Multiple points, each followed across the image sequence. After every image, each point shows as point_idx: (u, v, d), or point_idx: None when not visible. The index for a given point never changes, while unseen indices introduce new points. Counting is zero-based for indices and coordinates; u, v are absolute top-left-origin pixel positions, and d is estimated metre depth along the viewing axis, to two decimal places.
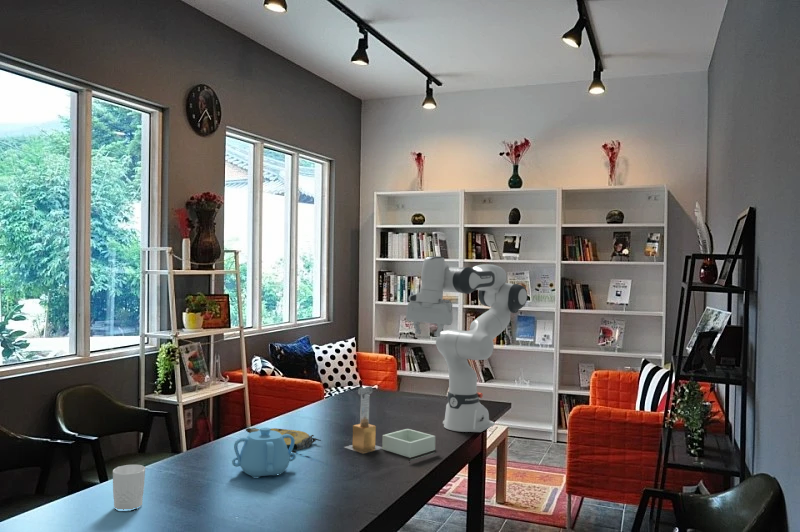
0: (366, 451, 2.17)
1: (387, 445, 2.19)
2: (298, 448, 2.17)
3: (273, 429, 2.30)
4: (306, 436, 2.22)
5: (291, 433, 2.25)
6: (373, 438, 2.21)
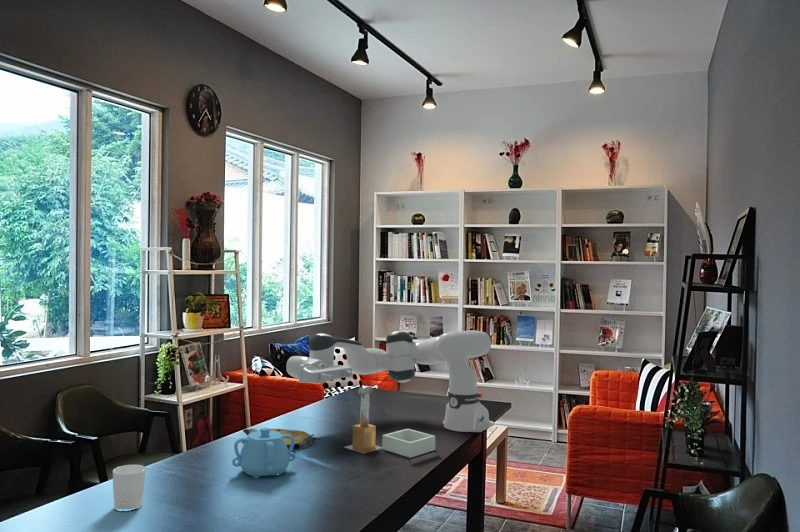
0: (366, 451, 2.17)
1: (387, 445, 2.19)
2: (300, 447, 2.18)
3: (272, 429, 2.30)
4: (307, 436, 2.23)
5: (291, 433, 2.26)
6: (373, 438, 2.21)
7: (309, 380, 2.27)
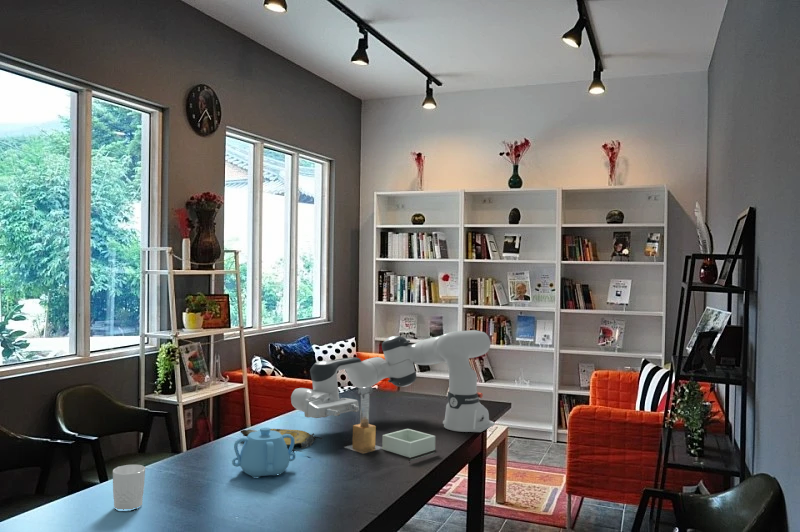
0: (366, 451, 2.17)
1: (387, 445, 2.19)
2: (302, 447, 2.19)
3: None
4: (308, 435, 2.24)
5: (291, 432, 2.26)
6: (373, 438, 2.21)
7: (315, 416, 2.24)
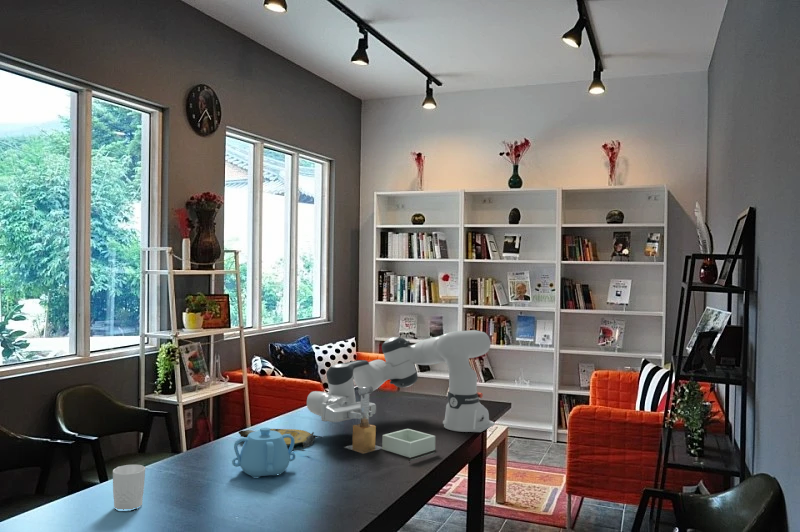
0: (366, 451, 2.17)
1: (387, 445, 2.19)
2: (304, 446, 2.20)
3: None
4: (308, 434, 2.25)
5: (291, 432, 2.27)
6: (373, 438, 2.21)
7: (333, 420, 2.18)
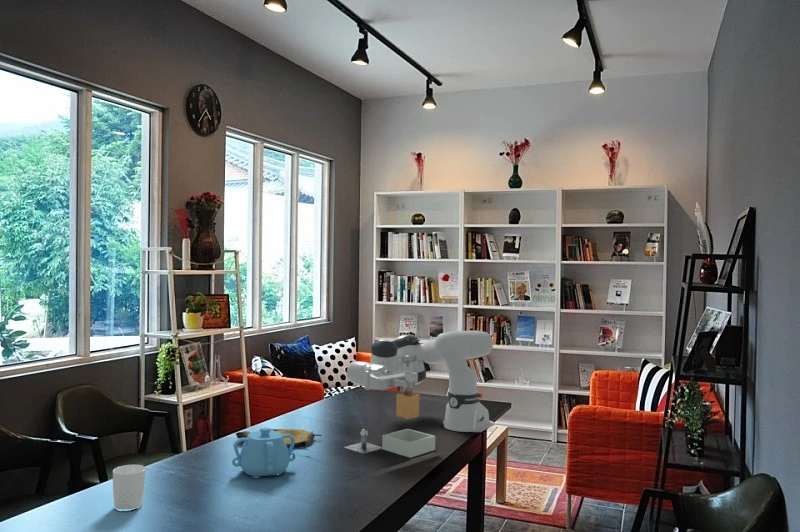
0: (366, 451, 2.17)
1: (387, 445, 2.19)
2: (306, 445, 2.22)
3: None
4: (308, 433, 2.27)
5: (290, 432, 2.27)
6: (417, 407, 2.20)
7: (378, 387, 2.17)
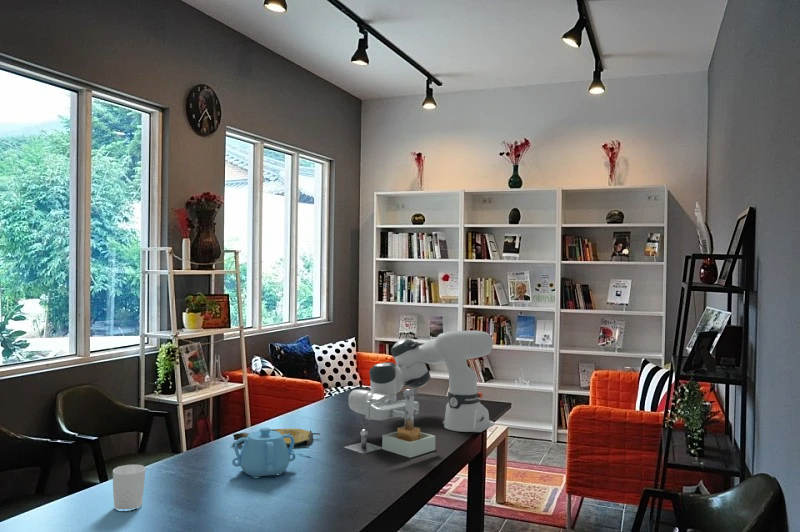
0: (366, 451, 2.17)
1: (387, 445, 2.19)
2: (308, 444, 2.23)
3: None
4: (308, 432, 2.28)
5: (289, 431, 2.28)
6: None
7: (378, 418, 2.17)
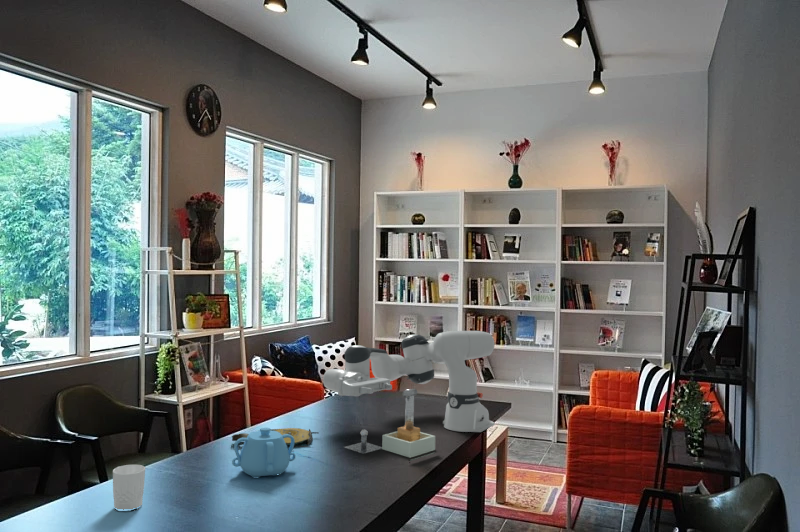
0: (366, 451, 2.17)
1: (387, 445, 2.19)
2: (309, 443, 2.24)
3: None
4: (307, 431, 2.29)
5: (288, 431, 2.28)
6: None
7: (350, 393, 2.27)
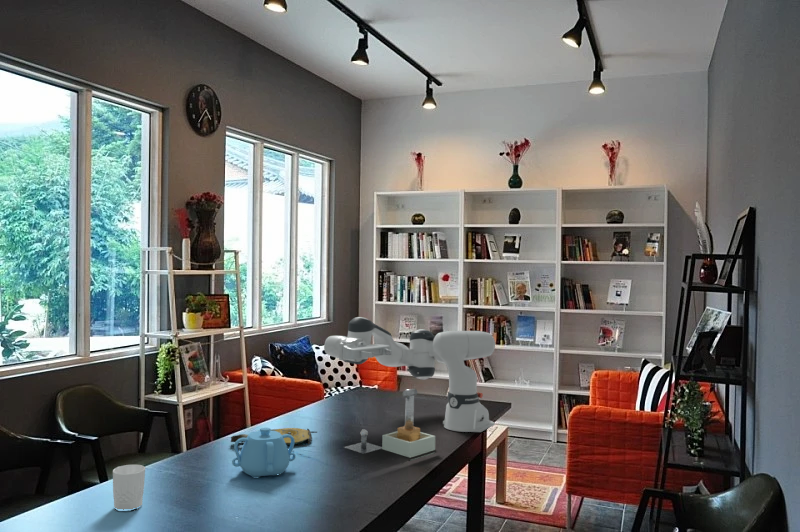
0: (366, 451, 2.17)
1: (387, 445, 2.19)
2: (309, 442, 2.25)
3: None
4: (306, 431, 2.30)
5: (288, 431, 2.29)
6: None
7: (350, 357, 2.31)
